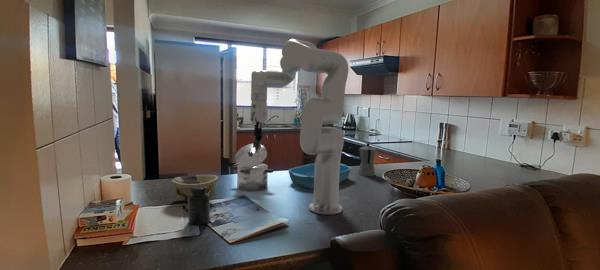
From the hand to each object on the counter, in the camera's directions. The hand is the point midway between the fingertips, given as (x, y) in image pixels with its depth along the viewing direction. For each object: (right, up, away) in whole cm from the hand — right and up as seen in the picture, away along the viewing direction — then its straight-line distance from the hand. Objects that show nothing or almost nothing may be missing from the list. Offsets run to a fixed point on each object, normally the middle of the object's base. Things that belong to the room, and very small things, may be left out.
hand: (257, 136), depth 156 cm
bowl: (-22, -26, -25) cm, 42 cm away
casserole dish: (+31, -24, +11) cm, 40 cm away
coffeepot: (+58, -22, +27) cm, 68 cm away
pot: (-2, -24, -3) cm, 24 cm away
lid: (-2, -7, -5) cm, 9 cm away
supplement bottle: (-14, -29, -47) cm, 56 cm away
